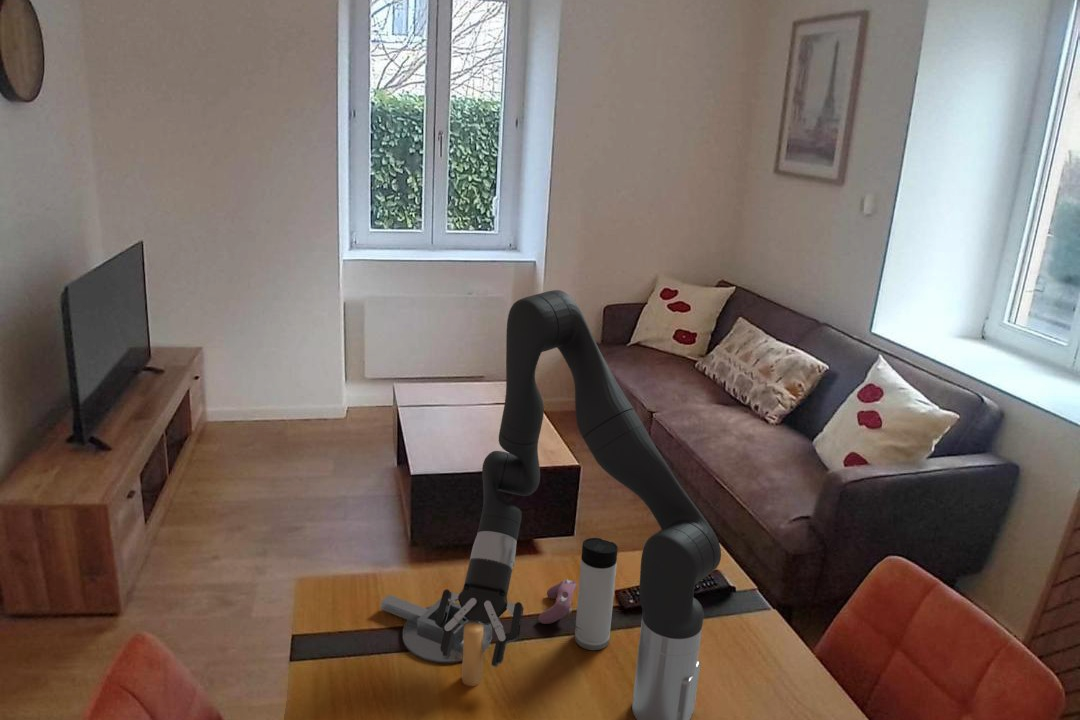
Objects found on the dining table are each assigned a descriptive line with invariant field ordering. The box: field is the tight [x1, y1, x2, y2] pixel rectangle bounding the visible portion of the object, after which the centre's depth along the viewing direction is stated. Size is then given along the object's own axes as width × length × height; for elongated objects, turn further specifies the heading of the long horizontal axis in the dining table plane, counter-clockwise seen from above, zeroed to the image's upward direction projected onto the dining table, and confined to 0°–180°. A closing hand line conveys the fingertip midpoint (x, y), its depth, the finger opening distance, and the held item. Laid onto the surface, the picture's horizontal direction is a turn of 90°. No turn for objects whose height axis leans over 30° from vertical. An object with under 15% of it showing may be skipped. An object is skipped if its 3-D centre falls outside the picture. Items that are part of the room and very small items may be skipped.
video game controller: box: [538, 578, 577, 625], centre depth 155 cm, size 10×5×7 cm, turn 169°
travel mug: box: [574, 537, 619, 651], centre depth 145 cm, size 6×7×20 cm
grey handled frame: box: [380, 594, 493, 664], centre depth 148 cm, size 22×16×4 cm
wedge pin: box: [461, 622, 484, 687], centre depth 135 cm, size 3×3×10 cm
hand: (470, 661), depth 134 cm, fingers open, 8 cm apart
